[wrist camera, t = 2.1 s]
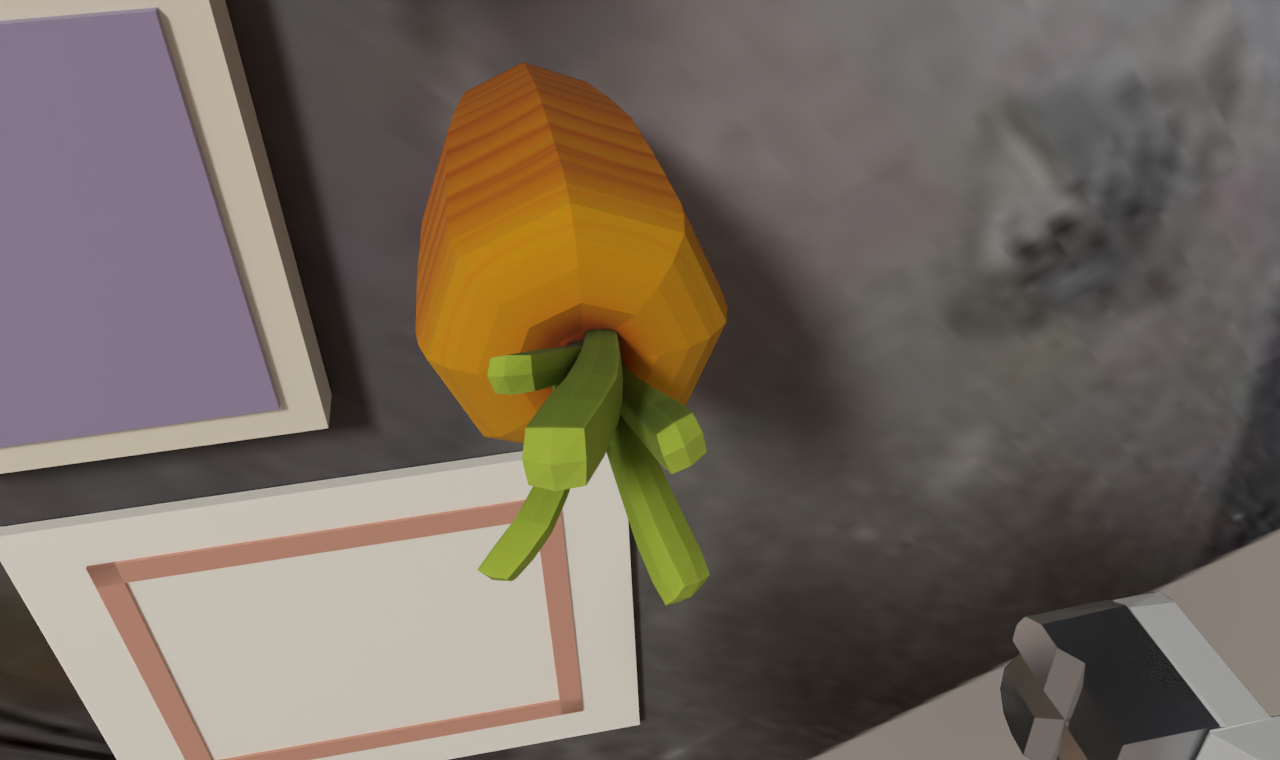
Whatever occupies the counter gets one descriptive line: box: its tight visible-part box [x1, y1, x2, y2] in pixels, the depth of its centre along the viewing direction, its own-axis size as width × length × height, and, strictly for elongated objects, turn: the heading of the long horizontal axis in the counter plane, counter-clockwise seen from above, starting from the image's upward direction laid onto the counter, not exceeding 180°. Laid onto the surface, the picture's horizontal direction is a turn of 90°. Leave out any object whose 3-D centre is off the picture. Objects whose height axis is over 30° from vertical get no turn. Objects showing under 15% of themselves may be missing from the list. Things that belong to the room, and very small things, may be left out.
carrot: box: [416, 62, 727, 605], centre depth 18 cm, size 5×5×15 cm
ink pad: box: [0, 0, 332, 474], centre depth 23 cm, size 10×12×2 cm
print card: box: [0, 451, 640, 760], centre depth 34 cm, size 18×14×1 cm
